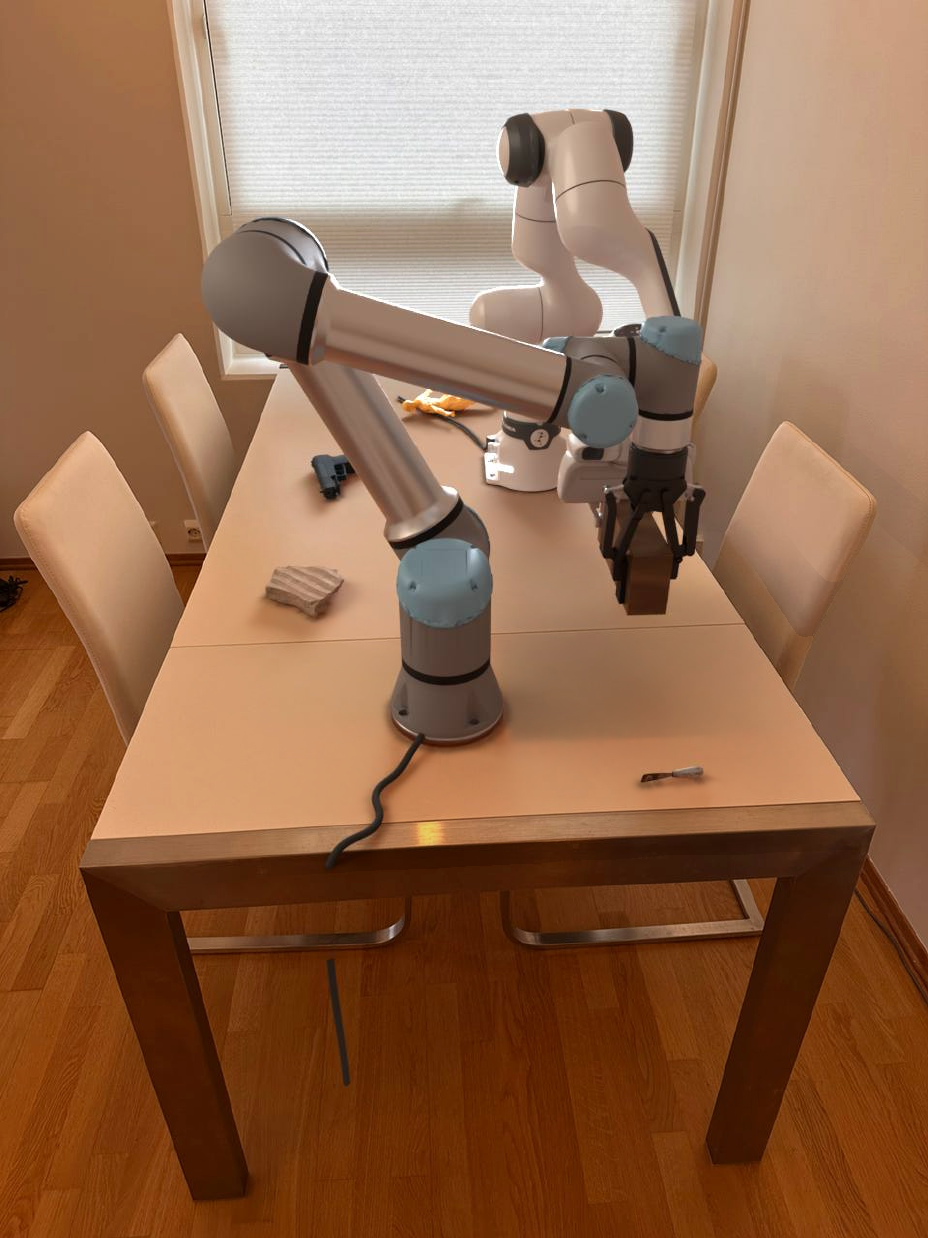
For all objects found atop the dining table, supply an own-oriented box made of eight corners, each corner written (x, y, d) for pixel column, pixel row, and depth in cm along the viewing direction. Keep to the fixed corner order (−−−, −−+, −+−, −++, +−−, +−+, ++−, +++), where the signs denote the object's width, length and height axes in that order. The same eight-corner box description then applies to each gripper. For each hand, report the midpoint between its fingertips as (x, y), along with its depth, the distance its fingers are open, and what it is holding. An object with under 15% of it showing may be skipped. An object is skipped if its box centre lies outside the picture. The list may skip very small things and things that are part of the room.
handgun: (379, 494, 182) (320, 501, 179) (364, 462, 196) (309, 468, 193) (378, 480, 180) (319, 487, 178) (363, 448, 194) (308, 454, 192)
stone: (354, 583, 150) (352, 570, 149) (317, 618, 141) (316, 605, 140) (288, 570, 155) (286, 557, 153) (249, 603, 145) (246, 590, 144)
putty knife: (703, 777, 109) (705, 767, 109) (642, 788, 108) (644, 777, 107) (700, 772, 110) (702, 762, 109) (639, 782, 109) (640, 771, 108)
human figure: (395, 413, 223) (394, 398, 221) (438, 390, 237) (438, 375, 235) (462, 429, 215) (462, 413, 213) (502, 404, 229) (503, 388, 227)
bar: (665, 614, 124) (673, 555, 119) (627, 615, 124) (633, 556, 119) (630, 538, 144) (636, 484, 139) (597, 539, 144) (602, 485, 139)
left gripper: (721, 431, 118) (697, 583, 130) (583, 434, 117) (572, 587, 130) (739, 452, 112) (712, 610, 124) (593, 455, 111) (580, 614, 123)
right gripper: (692, 431, 135) (681, 515, 142) (557, 434, 134) (553, 518, 141) (704, 447, 129) (691, 532, 137) (564, 450, 128) (559, 536, 136)
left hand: (641, 598), depth 127 cm, fingers closed on bar, 5 cm apart
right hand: (620, 525), depth 139 cm, fingers closed on bar, 5 cm apart
